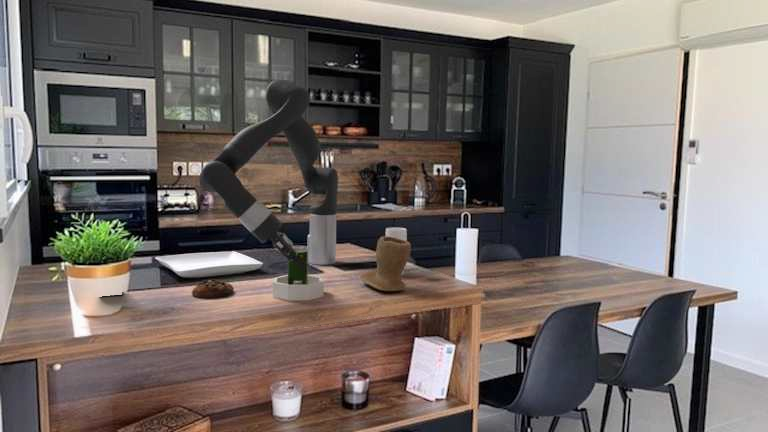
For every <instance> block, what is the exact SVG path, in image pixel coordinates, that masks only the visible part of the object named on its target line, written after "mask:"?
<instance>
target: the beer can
mask: <svg viewBox="0 0 768 432" xmlns="http://www.w3.org/2000/svg"><path fill="white" fill-rule="evenodd" d="M293 247H294V248H293V249H294V250H295V251H296V252H297V253H298V255H299V256H300V257H301V258H302V259H303V260H304V261H305V262H306V263H307V266H306V267H305V268H304V269H303V270H301V269H300V268H299V267H298V266H297V265H296V264H295V263H294V262H293V261H291V260H288V259H287V275H288V284H289V285H303V284H308V275H309V273H308V271H309V269H308V268H309V266H308V265H309V264H308V263H309V262H308V250H307V245H295V246H293ZM291 253H292V252H291V251H290V252H289V253H288V255H290V254H291Z"/></svg>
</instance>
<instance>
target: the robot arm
mask: <svg viewBox="0 0 768 432" xmlns="http://www.w3.org/2000/svg"><path fill="white" fill-rule="evenodd" d="M265 98H266V99H265V100H266V104H267V106H268V109H269V110H270V111H271V112H272V114H273V115H271V116H270V117H267V118H265V119H263V120H262V121H260V122H256V123H254V124H252V125H250V126H247V127H245V128H243V129H242V130H240V131H239V132H238V133H236V135H234V137H233V138H232V139H231V140H230V141H229V142H228V143H226V145H225V146H224V148H223V149H222V151H221V152H220V153H219V154H218V155H217V156H216V157H215V158H214V159H213V160H212V161H210V162H209V161H208V162H207V163H206V165H204V167H203V168H202V170H201V171H200V173H199V177H198V183H199V185H200V187H201V188H202V189H203V190H204V191H206V192H208V193H217V194H218V196H220V197H221V198H222V200H223V202H224V205H225V207H226V208H227V210H229V211H230V213H232V214H233V215H234V217H236V219H238V220H239V221H240V223H241V224H242V225H243V226H244V227H245V228H246V229H247V230H248V231H249V232H250V233H251V234H252V235H253V236H254V237H255V238H256V239H257V240H258V241H259V242H260V243H262V244H264V243H266V242H267V241H268V240H271V242H272V246H273V247H274V248H275V249H276V250H278V251H279V252H280V253H281V254H282V256H284V257H285V258H286V259H287V261H288V260H291V261H293V262H294V263H295V264H296V265H297V266H298V267H299V268H300V269H301V270H303V269H304V268H305V267H306V266H307V263H306V262H305V261H304V260H303V259H302V258H301V257H300V256H299V255H298V253H297V252H296V251H295V250H294V249H293V248H294V247H293V246H296V244H294V243H293V241H292V240H291V239H290V238H288V236H287V235H286V234H285V233H284V232H281V231H280V232H279V230H280V229H281V228H282V226H283V222H282V221H280V219H279V218H277V216H276V215H275V214H273V212H272V211H270V209H268V208H267V207H266V205H264V204H263V203H262V202H261V201H259V200H258V199H257V198H256V197H255V196H254V195H253V194H252V193H251V192H250V191H248V190H247V189H246V188H245V186H244V185H243V184H242V181H240V179H239V177H237V175H236V174H237V172H238V171H239V170H240V169H242V168H243V167H244V166H245V165H246V164H248V162H249V161H250V160H251V159H252V158H253V157H254V156H255V155H256V153H258V152H259V150H261V149H262V148H263V147H264V146H265V145H266V144H267V143H268V142H270V141H271V140H272V139H274V137H277V136H278V135H279V134H280V133H282V132H283V135H284V137H285V139H286V141H287V143H288V145H289V147H290V150H291V152H292V155H293V156H294V158H295V160H296V163H297V166H298V167H299V169H300V173H301V175H302V178H303V183H304V185H305V188H306V190H307V192H308V193H310V194H313V195H325V198H324V200H322V201H320V202H318V203H314V204H312V205H310V207H309V234H308V235H307V237H306V238H307V239H306V240H307V242H306V243H307V245H306V247H307V250H308V263H310V264H311V265H322V266H324V265H334V264H336V261H337V260H336V258H337V257H336V256H337V207H338V206H337V205H338V188H339V175H338V171H337V169H335V168H334V167H315V166H314V164H315V163H316V161H317V160H318V158H319V156H320V155H321V150H322V144H321V142H320V140H319V136H318V134H317V132H316V131H315V129H314V127H313V126H312V125H311V124H310V122H309V121H308V120H307V119H306V118H304V117H303V115H304V114H305V113H306V111H307V109H308V108H309V106H310V101H311V100H310V99H311V98H310V94H309V91H308V89H306V88H304V87H303V86H300V85H298V84H295V83H293V82H290V81H288V80H284V79H274V80H273V81H271V82H270V83H269V84H268V86H267V89H266V93H265ZM290 251H291V252H292V253H291V254H290V255H288V253H289V252H290Z"/></svg>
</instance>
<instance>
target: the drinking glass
mask: <svg viewBox="0 0 768 432" xmlns="http://www.w3.org/2000/svg"><path fill="white" fill-rule="evenodd" d="M407 231H408V230H407V228H404V227H386V228H385V236H388V237H394V238H397V239H402V240H405V241H407V240H408V239H407V238H408V236H407V235H408V233H407ZM404 273H405V271H404V270H403V272H402V276H404Z"/></svg>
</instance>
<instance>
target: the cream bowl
mask: <svg viewBox="0 0 768 432" xmlns="http://www.w3.org/2000/svg"><path fill="white" fill-rule="evenodd" d="M324 284H325V282H324V278H323V277H322V276H318V275H314V274H308V284H303V285H289V284H288V274H285V275H281V276H277V277H276V276H275V277H273V279H272V298H275V299H280V300H283V301H287V302H288V301H289V302H293V301H311V300H316V299H319V298H321V297H324V295H325V294H324Z"/></svg>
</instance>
